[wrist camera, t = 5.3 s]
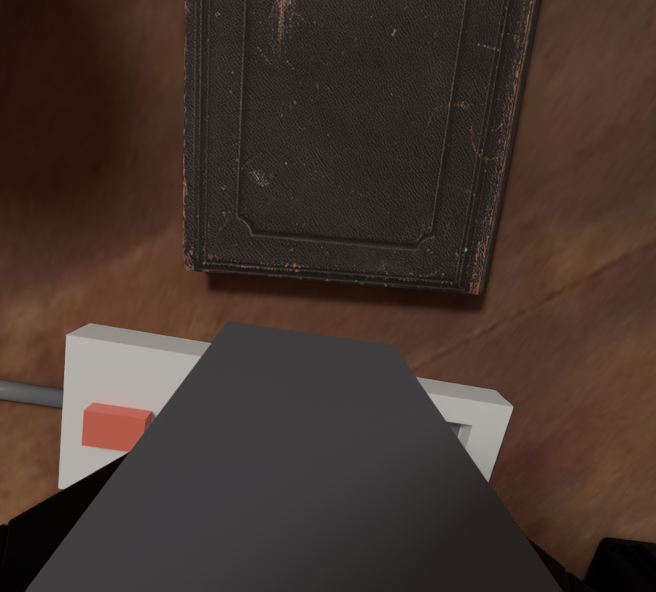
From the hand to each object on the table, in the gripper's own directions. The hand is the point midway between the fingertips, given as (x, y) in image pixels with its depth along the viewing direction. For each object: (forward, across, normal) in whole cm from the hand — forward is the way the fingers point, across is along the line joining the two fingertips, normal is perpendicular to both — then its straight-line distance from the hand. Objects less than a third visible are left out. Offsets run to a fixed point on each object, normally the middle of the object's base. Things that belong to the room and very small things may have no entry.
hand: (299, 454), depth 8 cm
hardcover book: (+14, -1, -14) cm, 19 cm away
